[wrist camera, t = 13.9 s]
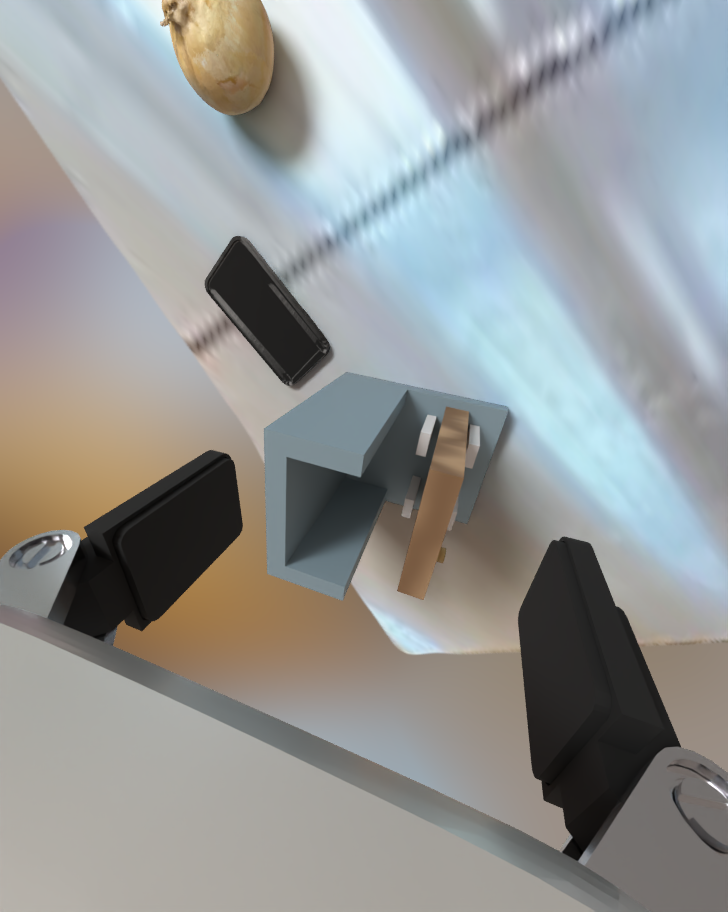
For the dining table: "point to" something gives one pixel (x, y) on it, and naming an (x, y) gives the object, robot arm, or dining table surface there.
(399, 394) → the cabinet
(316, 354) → the phone
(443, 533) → the door
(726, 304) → the dining table surface
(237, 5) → the onion
